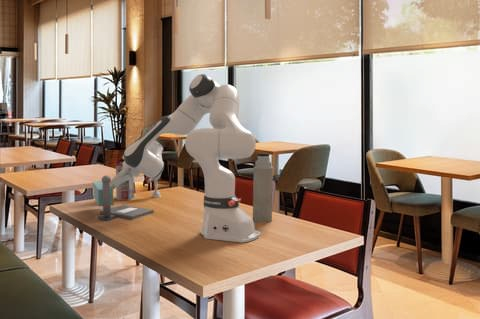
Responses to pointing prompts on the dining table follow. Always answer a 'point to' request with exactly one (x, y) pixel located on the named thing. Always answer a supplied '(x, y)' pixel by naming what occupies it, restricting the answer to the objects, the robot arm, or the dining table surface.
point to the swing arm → (104, 195)
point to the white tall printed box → (124, 184)
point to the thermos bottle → (262, 189)
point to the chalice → (156, 193)
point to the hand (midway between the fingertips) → (111, 188)
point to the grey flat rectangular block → (129, 212)
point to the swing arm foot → (106, 218)
